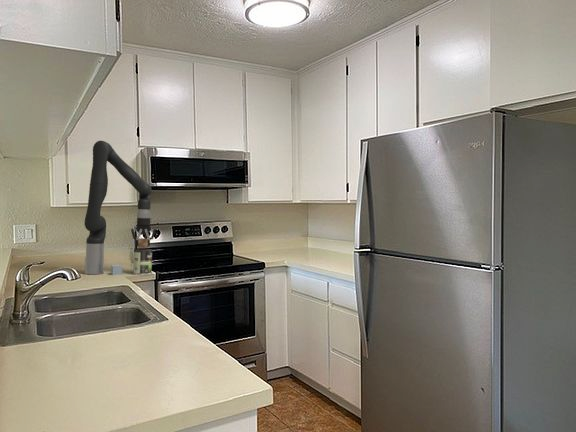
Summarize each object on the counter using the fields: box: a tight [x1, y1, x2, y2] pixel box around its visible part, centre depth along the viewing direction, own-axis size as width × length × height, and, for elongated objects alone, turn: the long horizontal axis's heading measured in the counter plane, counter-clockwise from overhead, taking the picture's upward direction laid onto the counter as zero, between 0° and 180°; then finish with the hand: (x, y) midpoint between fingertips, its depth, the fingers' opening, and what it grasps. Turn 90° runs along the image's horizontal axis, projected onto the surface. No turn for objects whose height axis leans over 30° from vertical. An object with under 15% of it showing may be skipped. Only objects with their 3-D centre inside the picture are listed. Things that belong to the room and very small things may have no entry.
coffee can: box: [132, 248, 153, 276], centre depth 249 cm, size 10×10×14 cm
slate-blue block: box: [110, 264, 123, 276], centre depth 245 cm, size 5×5×5 cm
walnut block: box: [137, 237, 149, 249], centre depth 249 cm, size 5×5×5 cm
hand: (143, 246), depth 249 cm, fingers closed on walnut block, 4 cm apart
